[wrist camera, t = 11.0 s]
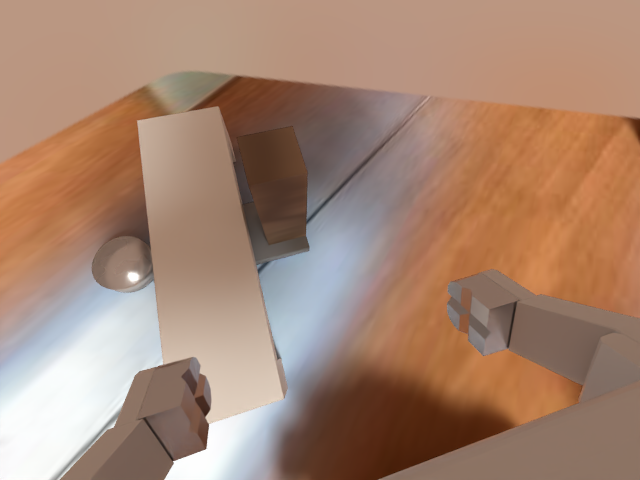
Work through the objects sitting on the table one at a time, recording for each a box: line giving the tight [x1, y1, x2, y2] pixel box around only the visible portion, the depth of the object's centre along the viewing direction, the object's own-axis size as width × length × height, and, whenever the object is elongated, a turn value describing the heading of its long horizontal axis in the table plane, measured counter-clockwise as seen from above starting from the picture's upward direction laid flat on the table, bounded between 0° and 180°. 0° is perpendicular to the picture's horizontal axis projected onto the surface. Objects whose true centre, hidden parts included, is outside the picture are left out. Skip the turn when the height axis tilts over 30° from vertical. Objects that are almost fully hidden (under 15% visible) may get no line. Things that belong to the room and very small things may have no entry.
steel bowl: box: [92, 236, 154, 293], centre depth 22 cm, size 4×4×2 cm
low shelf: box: [137, 106, 288, 424], centre depth 21 cm, size 6×21×4 cm, turn 16°
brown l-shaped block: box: [237, 126, 309, 265], centre depth 19 cm, size 12×5×10 cm, turn 107°
